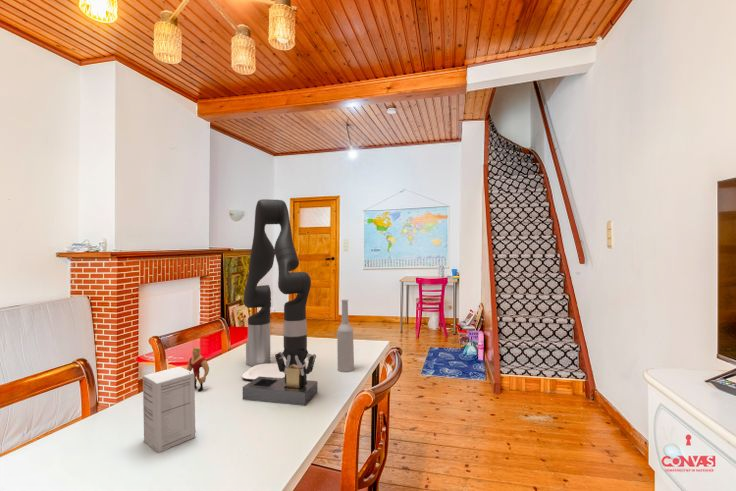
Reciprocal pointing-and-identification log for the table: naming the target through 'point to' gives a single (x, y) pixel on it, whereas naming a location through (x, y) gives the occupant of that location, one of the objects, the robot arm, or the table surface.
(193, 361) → the action figure
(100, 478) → the table surface
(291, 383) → the brass peg
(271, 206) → the robot arm
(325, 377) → the table surface
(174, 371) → the supplement box
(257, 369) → the plate
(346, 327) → the bottle
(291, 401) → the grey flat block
